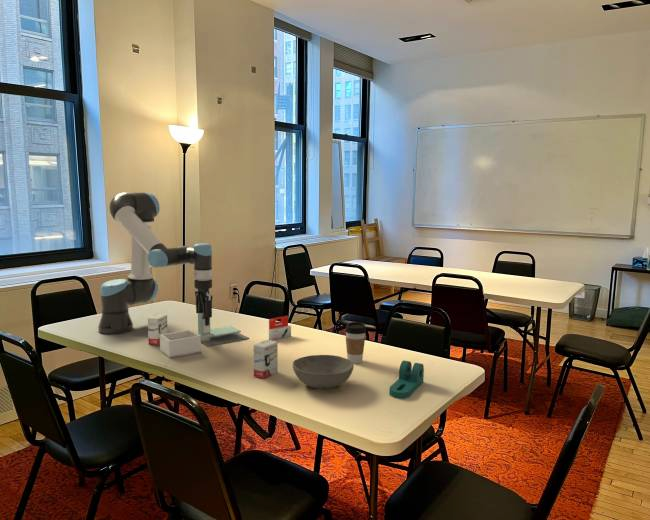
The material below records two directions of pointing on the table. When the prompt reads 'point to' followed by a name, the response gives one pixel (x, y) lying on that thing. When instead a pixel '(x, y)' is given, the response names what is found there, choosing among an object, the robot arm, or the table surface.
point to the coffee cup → (355, 341)
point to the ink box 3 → (279, 328)
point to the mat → (221, 339)
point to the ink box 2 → (265, 358)
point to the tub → (180, 343)
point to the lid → (215, 331)
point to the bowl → (323, 370)
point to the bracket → (407, 380)
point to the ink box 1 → (156, 328)
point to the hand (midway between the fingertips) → (204, 331)
